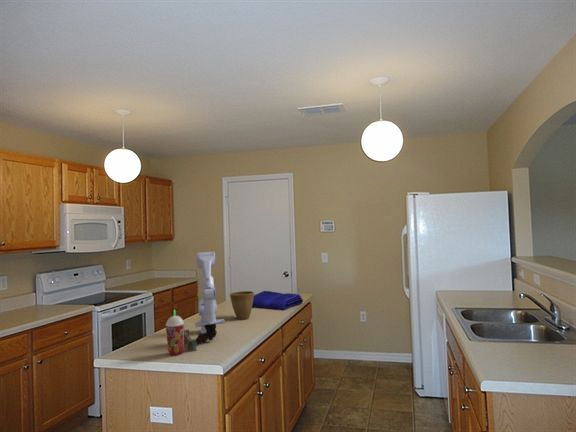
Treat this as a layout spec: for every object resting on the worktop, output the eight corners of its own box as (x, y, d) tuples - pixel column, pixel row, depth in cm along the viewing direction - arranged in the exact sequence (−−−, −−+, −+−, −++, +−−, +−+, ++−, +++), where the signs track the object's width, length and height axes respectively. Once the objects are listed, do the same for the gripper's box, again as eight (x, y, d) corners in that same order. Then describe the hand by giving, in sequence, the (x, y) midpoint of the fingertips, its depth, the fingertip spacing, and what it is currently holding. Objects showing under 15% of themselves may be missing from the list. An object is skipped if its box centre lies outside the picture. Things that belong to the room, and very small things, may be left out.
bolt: (196, 348, 196) (211, 339, 210) (204, 344, 194) (218, 334, 209) (190, 338, 197) (205, 329, 211) (198, 333, 195) (213, 324, 210)
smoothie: (187, 350, 187) (185, 307, 187) (183, 356, 179) (181, 311, 179) (169, 351, 187) (167, 308, 187) (164, 357, 178) (162, 312, 179)
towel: (285, 311, 267) (284, 298, 268) (243, 307, 286) (242, 295, 286) (304, 303, 290) (303, 291, 290) (264, 301, 308) (263, 289, 309)
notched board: (183, 339, 205) (182, 330, 205) (189, 339, 206) (188, 329, 207) (189, 351, 185) (189, 340, 185) (196, 350, 186) (196, 339, 186)
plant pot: (256, 315, 255) (255, 290, 256) (252, 321, 241) (251, 294, 241) (233, 316, 257) (233, 291, 257) (228, 321, 242) (227, 295, 243)
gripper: (196, 315, 194) (197, 343, 193) (225, 312, 199) (226, 339, 199) (194, 313, 200) (195, 340, 200) (222, 309, 206) (223, 336, 205)
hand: (210, 339), depth 200 cm, fingers closed
